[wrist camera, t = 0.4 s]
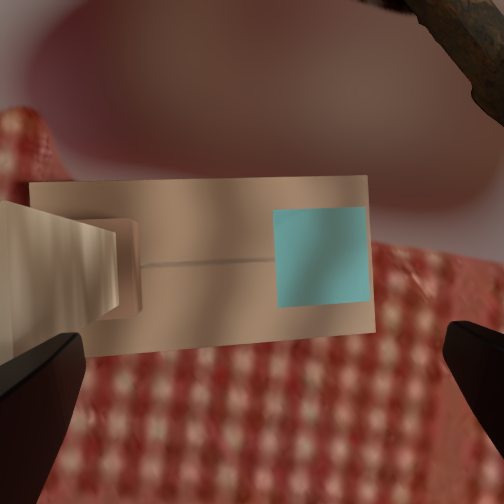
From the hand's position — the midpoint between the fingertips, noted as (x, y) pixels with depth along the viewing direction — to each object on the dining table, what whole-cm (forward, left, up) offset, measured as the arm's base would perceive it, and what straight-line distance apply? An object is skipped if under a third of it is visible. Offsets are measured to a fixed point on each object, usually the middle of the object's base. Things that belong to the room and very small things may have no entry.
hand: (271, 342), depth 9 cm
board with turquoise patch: (+1, +2, -15) cm, 15 cm away
